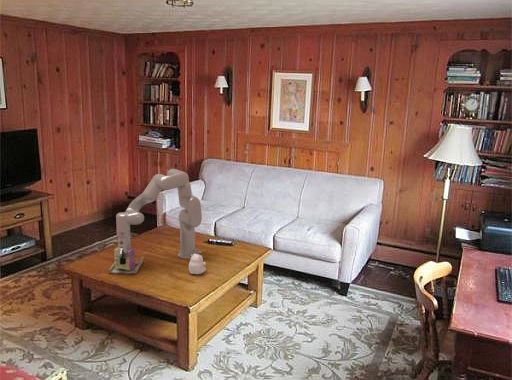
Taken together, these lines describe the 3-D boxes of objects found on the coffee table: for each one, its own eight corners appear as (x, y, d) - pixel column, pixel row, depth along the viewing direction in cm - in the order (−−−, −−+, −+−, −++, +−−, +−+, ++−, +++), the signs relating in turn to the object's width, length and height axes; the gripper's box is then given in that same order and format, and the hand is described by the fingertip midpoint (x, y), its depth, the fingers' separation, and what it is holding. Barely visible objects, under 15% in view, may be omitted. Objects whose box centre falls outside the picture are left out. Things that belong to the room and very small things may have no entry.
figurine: (197, 278, 251) (197, 259, 249) (184, 274, 256) (184, 255, 254) (207, 272, 260) (208, 253, 257) (195, 268, 265) (195, 250, 262)
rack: (144, 261, 272) (143, 257, 272) (136, 274, 253) (136, 270, 252) (118, 260, 272) (118, 256, 271) (108, 274, 252) (108, 269, 252)
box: (135, 266, 258) (134, 248, 255) (129, 270, 253) (128, 251, 250) (120, 264, 261) (119, 246, 258) (114, 267, 256) (113, 249, 253)
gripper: (125, 238, 244) (127, 267, 248) (133, 228, 260) (134, 256, 265) (112, 238, 243) (114, 267, 247) (121, 228, 260) (122, 256, 264)
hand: (124, 261), depth 256 cm, fingers closed on box, 7 cm apart
